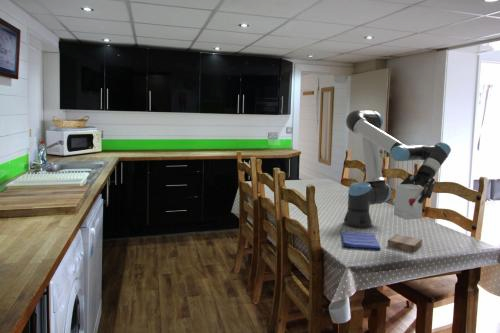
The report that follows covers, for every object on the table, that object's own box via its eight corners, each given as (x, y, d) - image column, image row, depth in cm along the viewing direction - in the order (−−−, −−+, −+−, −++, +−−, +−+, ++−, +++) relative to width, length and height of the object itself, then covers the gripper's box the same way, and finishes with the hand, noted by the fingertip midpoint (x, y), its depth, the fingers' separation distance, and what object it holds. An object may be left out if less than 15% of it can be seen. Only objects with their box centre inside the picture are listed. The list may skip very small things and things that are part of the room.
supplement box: (405, 220, 176) (407, 187, 174) (393, 215, 184) (395, 184, 182) (422, 218, 178) (424, 187, 176) (409, 214, 187) (411, 183, 185)
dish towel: (342, 249, 179) (343, 243, 179) (340, 233, 202) (340, 228, 202) (381, 252, 176) (381, 246, 176) (374, 236, 199) (374, 230, 199)
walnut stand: (387, 246, 183) (388, 239, 182) (396, 239, 192) (396, 233, 192) (414, 252, 175) (414, 245, 175) (421, 245, 185) (421, 239, 184)
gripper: (453, 178, 176) (429, 215, 171) (411, 171, 196) (387, 204, 191) (447, 167, 173) (422, 205, 168) (405, 161, 193) (381, 195, 187)
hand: (403, 205), depth 179 cm, fingers closed on supplement box, 10 cm apart
